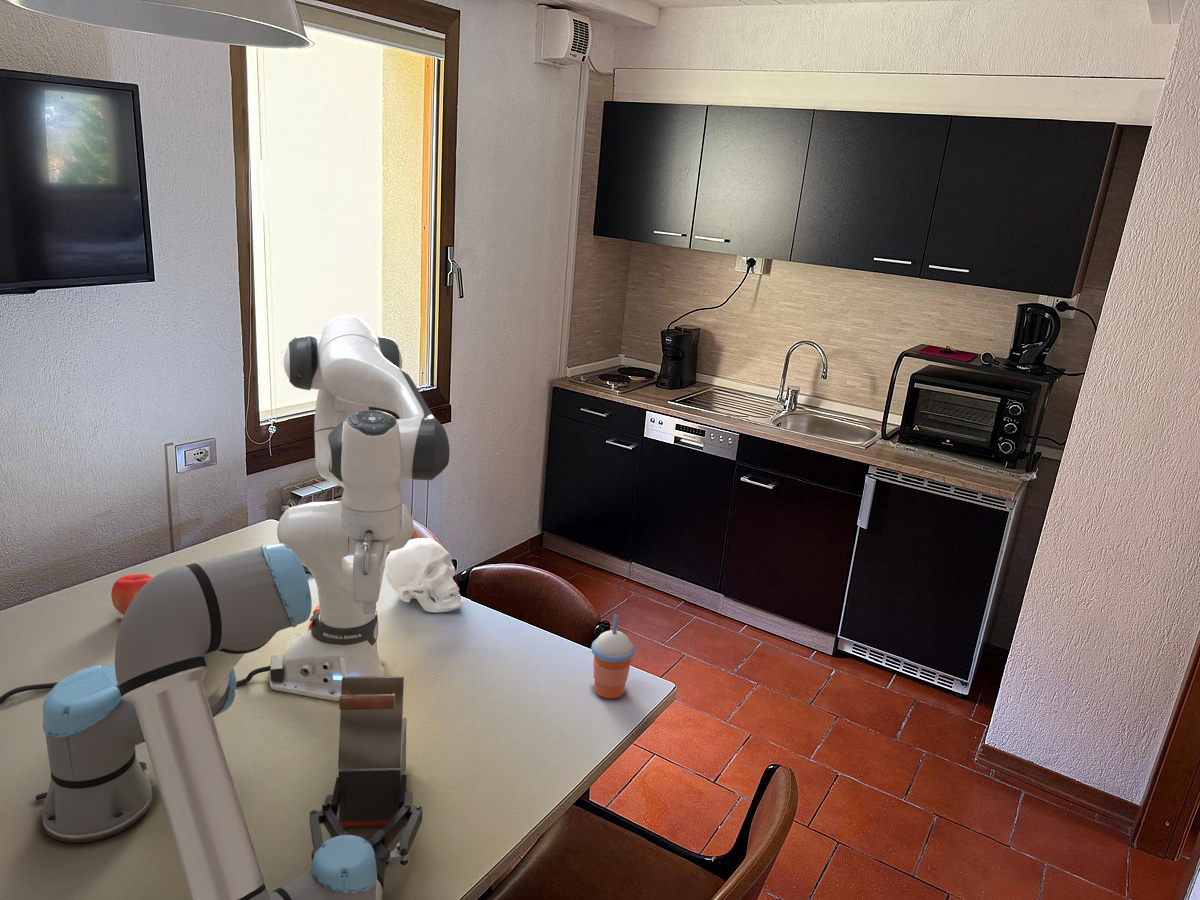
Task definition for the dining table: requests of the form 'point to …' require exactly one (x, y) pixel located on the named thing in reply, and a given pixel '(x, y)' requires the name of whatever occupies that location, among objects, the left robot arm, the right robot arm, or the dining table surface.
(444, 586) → the skull
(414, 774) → the dining table surface
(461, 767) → the dining table surface
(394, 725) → the lid
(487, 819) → the dining table surface
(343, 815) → the chest
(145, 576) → the apple
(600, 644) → the cup with straw
